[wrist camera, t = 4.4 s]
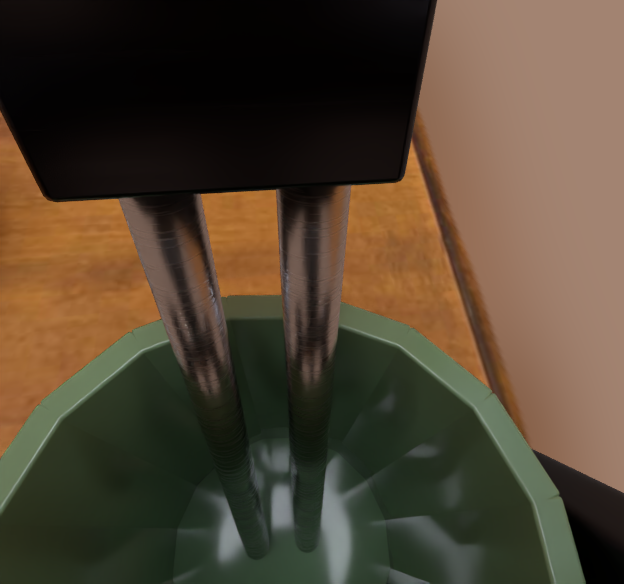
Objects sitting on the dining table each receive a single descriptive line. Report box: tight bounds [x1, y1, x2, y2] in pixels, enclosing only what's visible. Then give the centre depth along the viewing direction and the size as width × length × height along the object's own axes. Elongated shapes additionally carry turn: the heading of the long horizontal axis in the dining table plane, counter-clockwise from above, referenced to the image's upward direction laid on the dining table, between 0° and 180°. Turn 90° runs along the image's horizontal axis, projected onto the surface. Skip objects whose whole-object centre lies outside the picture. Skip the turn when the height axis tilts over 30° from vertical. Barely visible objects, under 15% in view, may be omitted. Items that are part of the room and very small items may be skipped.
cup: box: [0, 295, 586, 584], centre depth 9 cm, size 7×7×10 cm
